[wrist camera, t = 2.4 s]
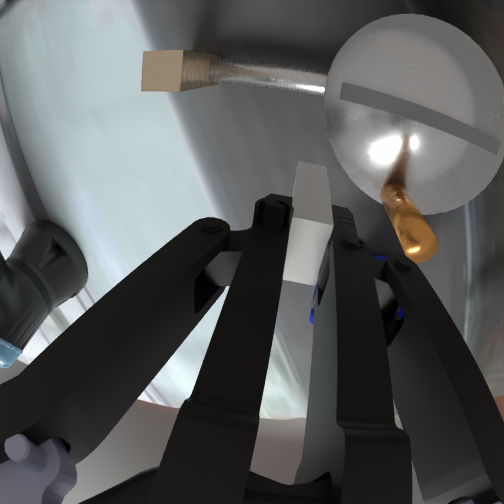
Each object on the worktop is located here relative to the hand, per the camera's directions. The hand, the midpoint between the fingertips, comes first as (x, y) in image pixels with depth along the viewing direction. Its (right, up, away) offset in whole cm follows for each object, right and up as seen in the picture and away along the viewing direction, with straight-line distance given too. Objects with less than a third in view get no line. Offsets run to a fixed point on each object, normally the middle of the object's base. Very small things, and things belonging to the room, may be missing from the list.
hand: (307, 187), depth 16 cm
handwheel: (+9, +6, +1) cm, 11 cm away
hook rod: (+3, +13, +9) cm, 16 cm away
